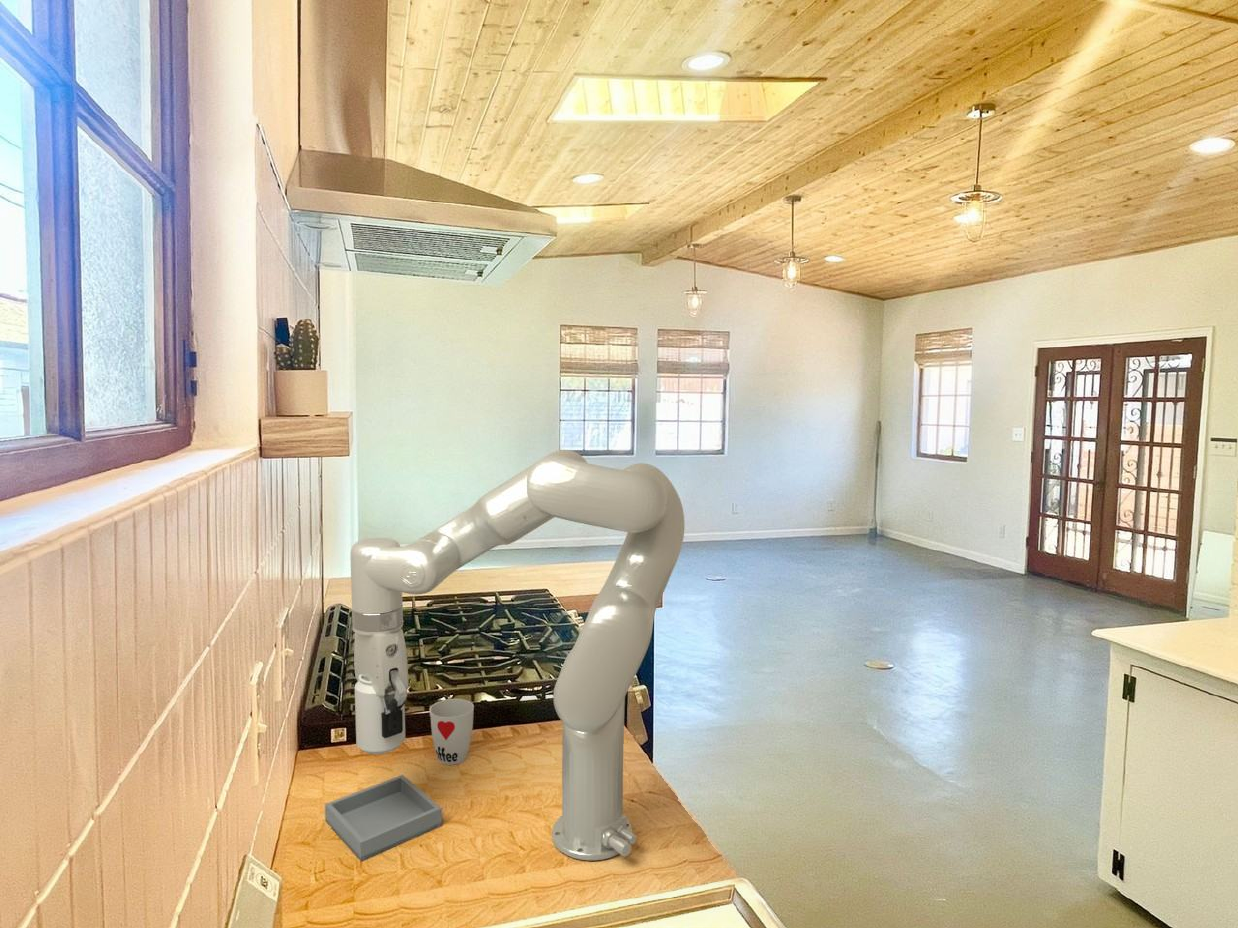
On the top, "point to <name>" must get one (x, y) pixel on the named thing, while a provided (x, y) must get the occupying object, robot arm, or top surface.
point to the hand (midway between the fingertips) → (380, 724)
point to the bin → (382, 816)
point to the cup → (451, 729)
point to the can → (373, 720)
